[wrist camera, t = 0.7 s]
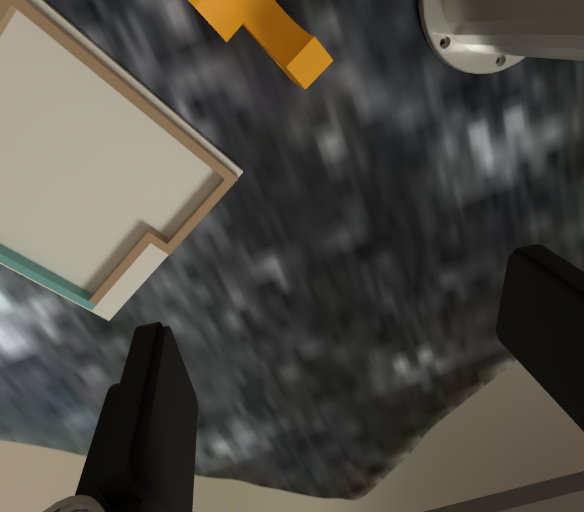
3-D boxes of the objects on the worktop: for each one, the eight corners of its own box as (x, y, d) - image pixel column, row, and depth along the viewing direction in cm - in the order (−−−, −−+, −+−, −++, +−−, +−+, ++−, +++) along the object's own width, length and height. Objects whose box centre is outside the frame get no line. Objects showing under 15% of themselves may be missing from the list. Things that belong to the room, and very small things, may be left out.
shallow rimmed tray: (18, -23, 26) (5, -26, 25) (242, 169, 35) (243, 176, 34) (-113, 198, 32) (-130, 207, 30) (110, 317, 41) (106, 328, 39)
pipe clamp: (156, -35, 27) (140, -52, 22) (197, -88, 26) (190, -121, 21) (276, 96, 33) (287, 108, 27) (313, 55, 32) (333, 60, 26)
